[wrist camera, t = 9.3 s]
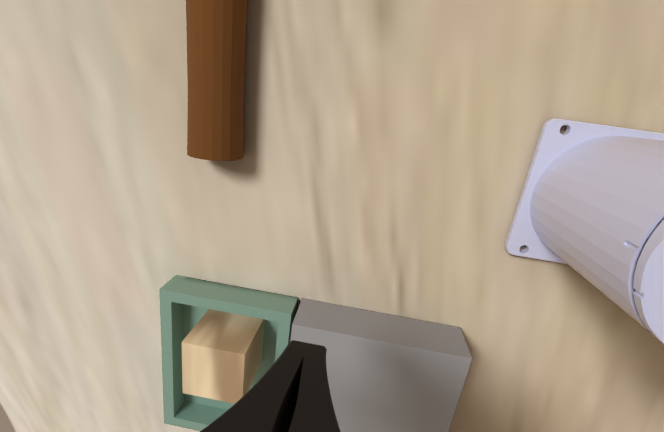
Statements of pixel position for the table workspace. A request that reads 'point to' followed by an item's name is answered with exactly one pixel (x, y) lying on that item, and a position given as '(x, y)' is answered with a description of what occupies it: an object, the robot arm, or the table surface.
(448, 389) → the slate plate
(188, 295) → the box
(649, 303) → the robot arm
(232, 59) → the hammer
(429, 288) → the table surface
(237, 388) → the maple block
